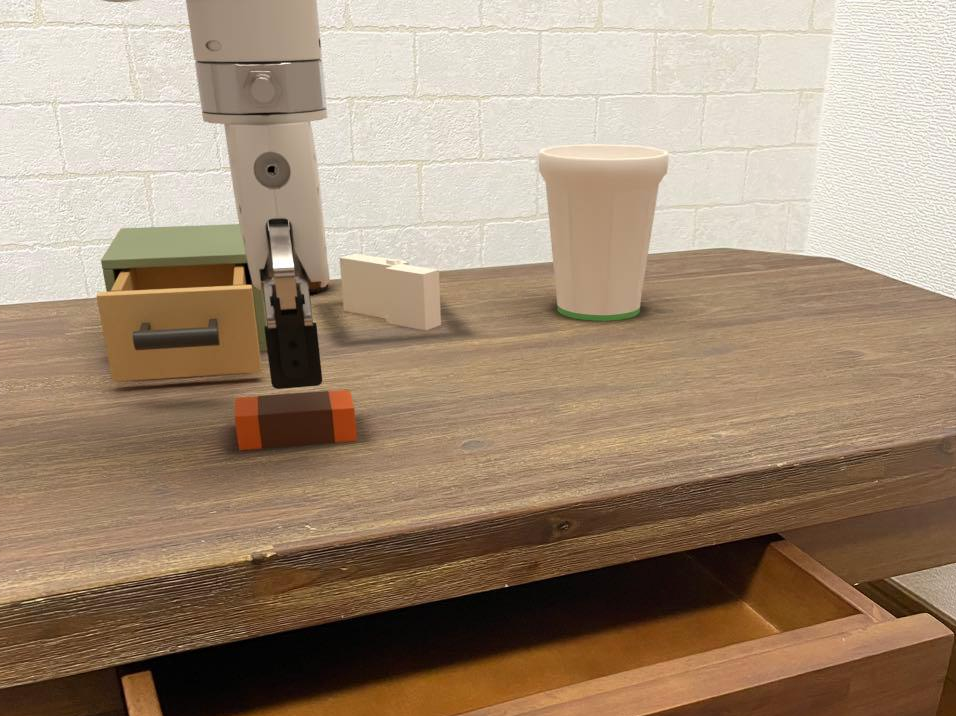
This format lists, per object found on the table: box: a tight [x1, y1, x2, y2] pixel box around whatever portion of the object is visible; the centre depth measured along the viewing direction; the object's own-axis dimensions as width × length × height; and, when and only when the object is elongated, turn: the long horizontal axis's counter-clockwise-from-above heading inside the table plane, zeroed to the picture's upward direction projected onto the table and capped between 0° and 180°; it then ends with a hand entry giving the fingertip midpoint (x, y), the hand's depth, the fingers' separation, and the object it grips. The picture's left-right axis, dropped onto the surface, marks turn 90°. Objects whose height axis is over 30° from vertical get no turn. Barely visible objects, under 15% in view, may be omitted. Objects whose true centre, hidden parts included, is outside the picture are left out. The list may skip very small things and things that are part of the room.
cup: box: [538, 143, 670, 322], centre depth 102 cm, size 12×12×15 cm
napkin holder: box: [339, 253, 442, 331], centre depth 101 cm, size 15×11×6 cm
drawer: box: [96, 263, 263, 383], centre depth 85 cm, size 18×11×7 cm, turn 14°
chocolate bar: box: [234, 389, 358, 451], centre depth 73 cm, size 8×4×2 cm, turn 104°
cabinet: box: [100, 223, 267, 352], centre depth 95 cm, size 15×13×9 cm
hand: (294, 363), depth 71 cm, fingers open, 9 cm apart
